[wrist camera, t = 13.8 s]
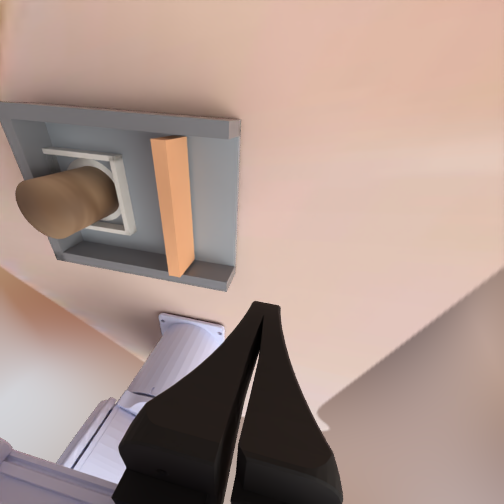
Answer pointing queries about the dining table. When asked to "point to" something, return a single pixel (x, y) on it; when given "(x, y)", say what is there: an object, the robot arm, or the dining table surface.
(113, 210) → the brown rounded block
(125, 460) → the robot arm
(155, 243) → the housing
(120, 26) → the dining table surface
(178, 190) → the gate
